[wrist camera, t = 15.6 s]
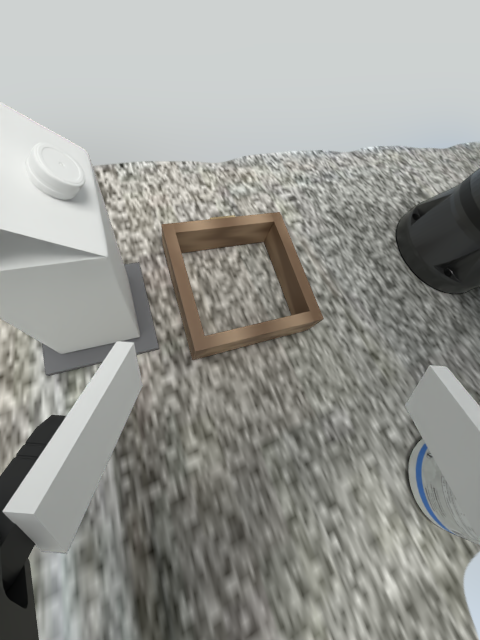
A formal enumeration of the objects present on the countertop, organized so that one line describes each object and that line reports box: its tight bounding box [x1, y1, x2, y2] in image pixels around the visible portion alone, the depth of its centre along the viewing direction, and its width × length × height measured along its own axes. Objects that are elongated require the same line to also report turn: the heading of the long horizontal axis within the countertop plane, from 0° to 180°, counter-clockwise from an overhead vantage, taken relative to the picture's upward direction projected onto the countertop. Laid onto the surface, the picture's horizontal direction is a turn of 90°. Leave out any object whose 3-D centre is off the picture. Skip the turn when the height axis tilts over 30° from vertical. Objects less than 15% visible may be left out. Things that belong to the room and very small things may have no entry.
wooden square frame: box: [162, 212, 323, 360], centre depth 31 cm, size 14×15×4 cm
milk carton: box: [0, 102, 140, 354], centre depth 19 cm, size 7×7×19 cm
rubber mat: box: [42, 262, 159, 376], centre depth 28 cm, size 10×10×1 cm
